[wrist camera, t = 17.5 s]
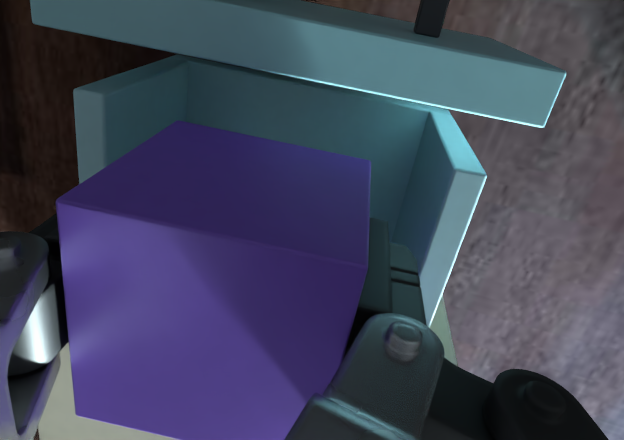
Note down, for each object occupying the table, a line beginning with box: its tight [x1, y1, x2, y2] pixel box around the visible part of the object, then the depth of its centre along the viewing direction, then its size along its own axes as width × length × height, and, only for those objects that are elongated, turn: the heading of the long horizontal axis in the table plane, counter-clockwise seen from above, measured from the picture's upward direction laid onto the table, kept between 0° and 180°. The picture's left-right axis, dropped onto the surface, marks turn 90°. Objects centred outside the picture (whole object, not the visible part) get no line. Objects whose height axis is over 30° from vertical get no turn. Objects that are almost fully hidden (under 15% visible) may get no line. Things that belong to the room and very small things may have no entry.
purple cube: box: [56, 120, 371, 440], centre depth 9 cm, size 4×4×4 cm
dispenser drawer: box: [30, 0, 566, 328], centre depth 14 cm, size 16×11×7 cm
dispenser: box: [38, 295, 458, 440], centre depth 19 cm, size 12×13×9 cm
